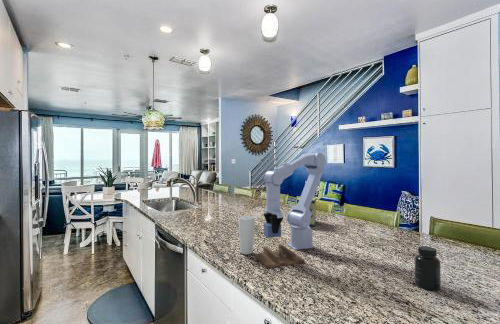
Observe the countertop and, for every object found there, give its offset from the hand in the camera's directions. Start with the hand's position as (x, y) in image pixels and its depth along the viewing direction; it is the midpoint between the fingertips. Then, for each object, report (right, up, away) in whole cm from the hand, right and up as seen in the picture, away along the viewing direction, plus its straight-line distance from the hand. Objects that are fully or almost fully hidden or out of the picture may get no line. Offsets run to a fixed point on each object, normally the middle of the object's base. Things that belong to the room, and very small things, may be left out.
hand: (272, 231), depth 113 cm
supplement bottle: (+46, -10, -28) cm, 55 cm away
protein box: (+25, -9, +51) cm, 58 cm away
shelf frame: (+2, -9, -7) cm, 12 cm away
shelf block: (0, -2, 0) cm, 2 cm away
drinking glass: (-11, -9, 0) cm, 15 cm away
